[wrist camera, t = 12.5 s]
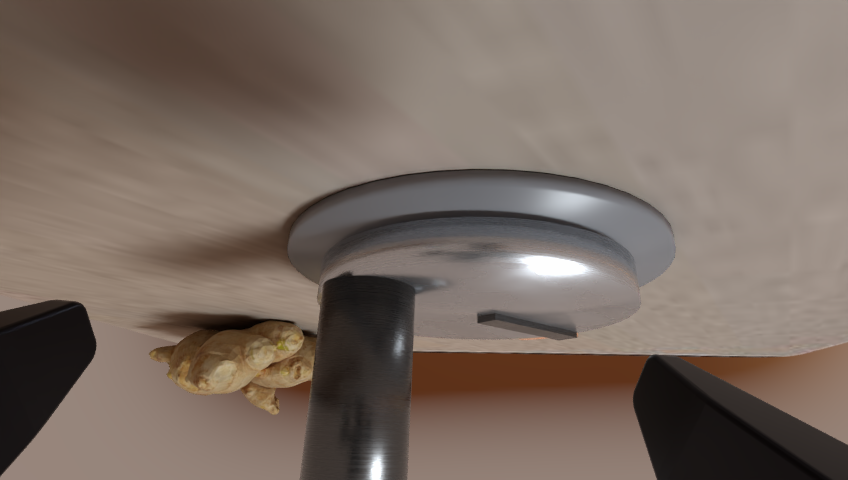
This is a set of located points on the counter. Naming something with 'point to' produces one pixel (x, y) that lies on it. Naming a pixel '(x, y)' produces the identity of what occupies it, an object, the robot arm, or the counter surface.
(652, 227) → the dial base
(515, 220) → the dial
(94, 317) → the counter surface
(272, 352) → the ginger root
